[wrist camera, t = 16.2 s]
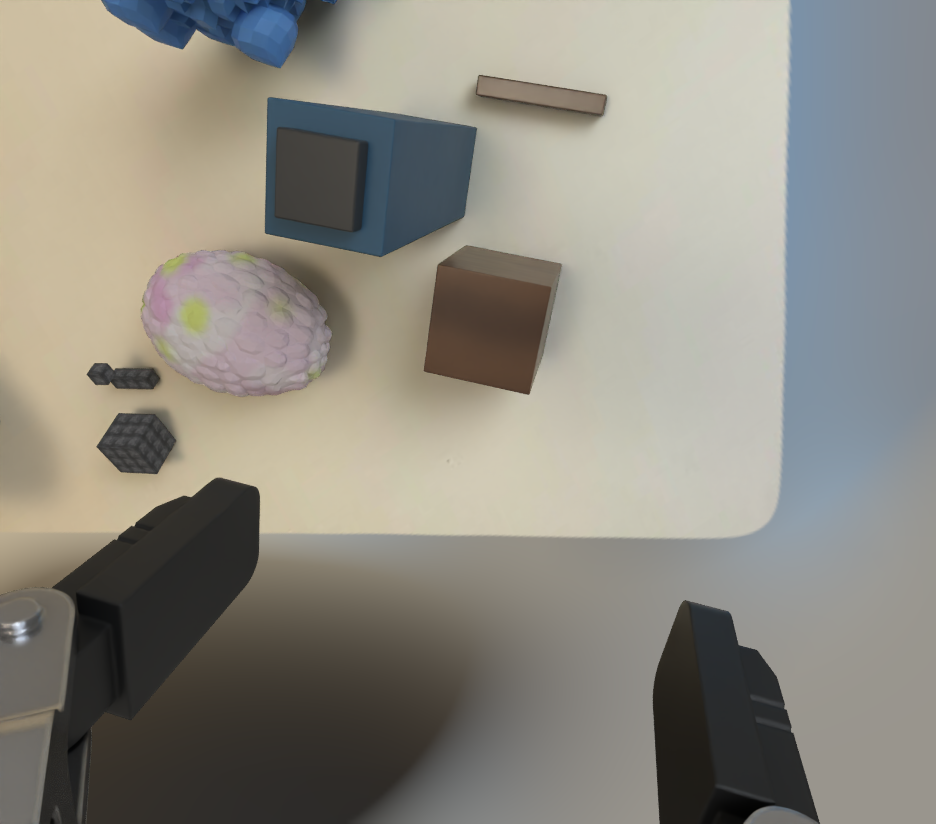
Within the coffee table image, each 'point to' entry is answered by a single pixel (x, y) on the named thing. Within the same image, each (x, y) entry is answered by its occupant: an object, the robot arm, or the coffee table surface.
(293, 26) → the grapes
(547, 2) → the coffee table surface
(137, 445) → the building blocks
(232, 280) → the decorative item
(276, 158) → the steel blue prism
